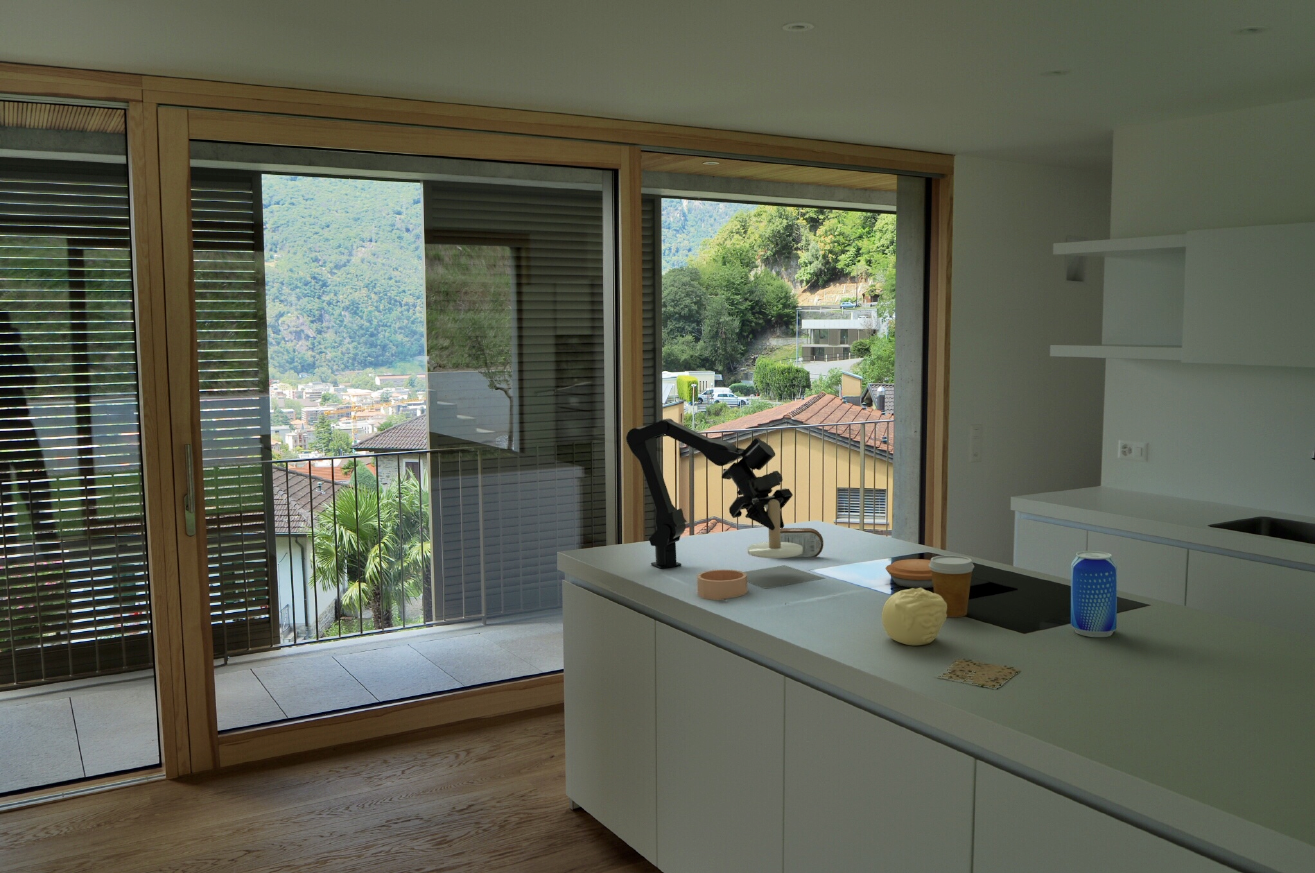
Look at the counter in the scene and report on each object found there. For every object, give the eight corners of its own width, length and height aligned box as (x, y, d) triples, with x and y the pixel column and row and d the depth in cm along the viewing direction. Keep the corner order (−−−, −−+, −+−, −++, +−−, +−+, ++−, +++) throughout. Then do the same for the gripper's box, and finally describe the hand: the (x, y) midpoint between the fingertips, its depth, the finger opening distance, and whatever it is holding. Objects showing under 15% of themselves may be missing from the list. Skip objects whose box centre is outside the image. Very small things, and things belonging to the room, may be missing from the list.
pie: (881, 588, 240) (880, 568, 239) (891, 573, 254) (890, 554, 253) (947, 592, 234) (946, 571, 233) (953, 577, 248) (953, 557, 248)
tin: (823, 556, 276) (822, 527, 276) (824, 559, 273) (823, 529, 272) (769, 557, 278) (768, 528, 277) (769, 559, 275) (769, 530, 274)
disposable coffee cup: (977, 609, 218) (976, 556, 217) (971, 621, 209) (970, 565, 208) (933, 606, 222) (932, 553, 221) (925, 617, 213) (925, 563, 212)
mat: (727, 576, 257) (727, 574, 257) (784, 566, 265) (784, 565, 265) (765, 590, 241) (765, 588, 241) (825, 580, 249) (825, 578, 249)
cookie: (957, 660, 186) (957, 655, 186) (1022, 672, 178) (1022, 667, 178) (930, 679, 177) (930, 673, 177) (997, 692, 169) (997, 686, 169)
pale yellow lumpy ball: (911, 653, 190) (911, 599, 189) (871, 638, 200) (870, 586, 199) (956, 643, 195) (955, 590, 194) (914, 628, 206) (913, 578, 205)
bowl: (689, 591, 243) (688, 574, 242) (730, 584, 248) (729, 567, 248) (713, 602, 232) (713, 583, 232) (756, 594, 238) (756, 576, 237)
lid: (737, 550, 256) (735, 498, 254) (781, 544, 262) (780, 493, 261) (767, 560, 243) (766, 505, 242) (813, 553, 250) (812, 499, 248)
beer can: (1114, 627, 201) (1114, 550, 200) (1118, 639, 193) (1119, 559, 192) (1069, 625, 204) (1069, 549, 202) (1072, 637, 196) (1072, 558, 195)
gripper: (735, 465, 247) (768, 513, 240) (786, 457, 259) (819, 503, 252) (715, 493, 254) (746, 541, 247) (765, 484, 266) (797, 530, 259)
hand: (778, 528), depth 251 cm, fingers closed on lid, 3 cm apart
